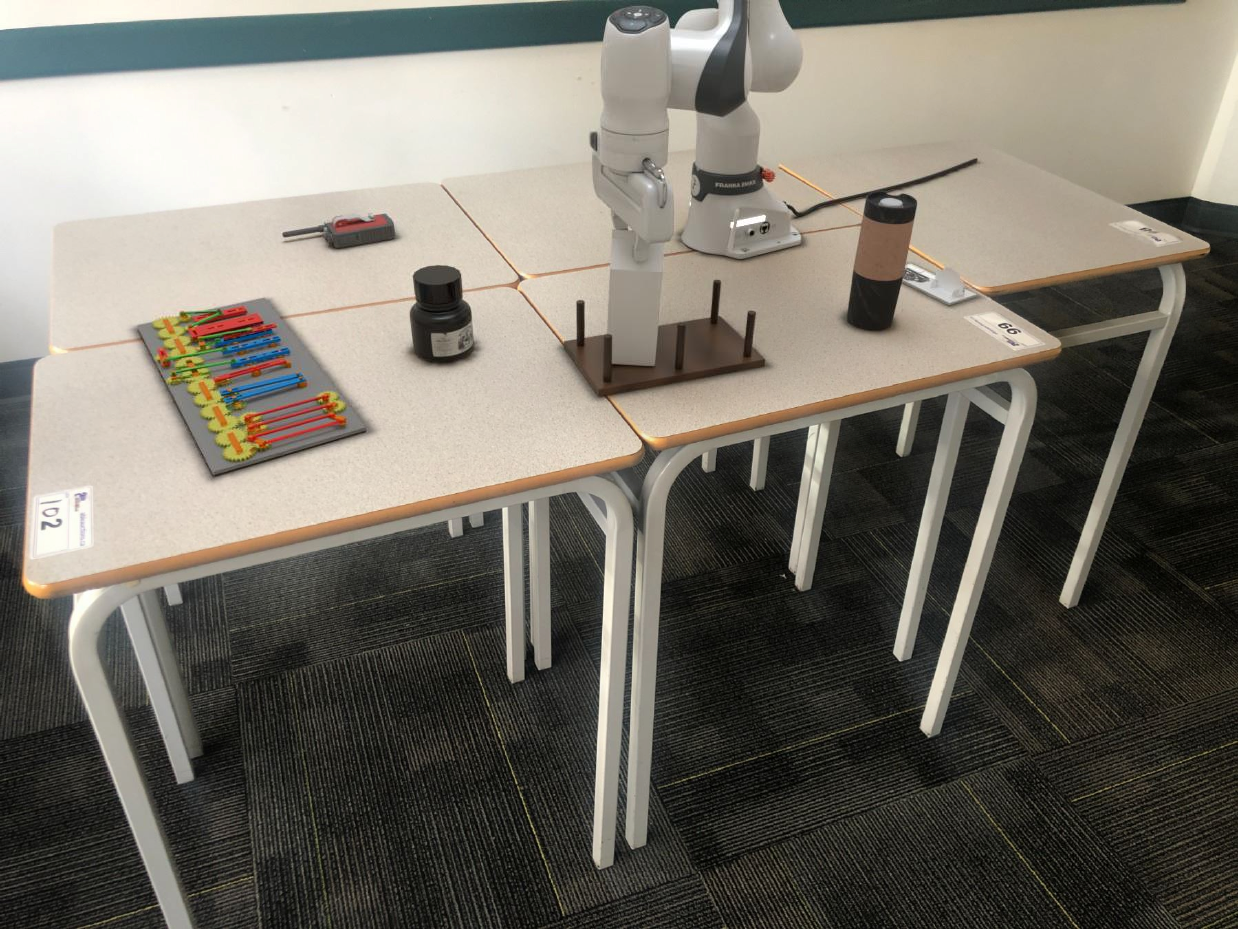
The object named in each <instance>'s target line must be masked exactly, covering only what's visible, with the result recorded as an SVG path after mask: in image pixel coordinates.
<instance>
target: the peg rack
mask: <svg viewBox="0 0 1238 929" xmlns="http://www.w3.org/2000/svg"><path fill="white" fill-rule="evenodd" d="M721 290H722V280H721V279H714V280H713V281H712V291H711V305H710V317H703V318H697V319H691V320H685V321H678V322H673V323H666V324H659V325H658V334H657V346H656V358H655V366H641V365H624V364H612V335H611V334H607V333H605V334H600V335H593V336H588V337H587V336H585V335H586V328H585V327H586V325H585V324H586V314H585V313H586V306H585V305H586V304H585V303H586V301H585V300H583V299H578V300H576V302H575V303H576V304H575V309H576V310H575V311H576V312H575V313H576V315H575V316H576V321H575V322H576V338H574V339H569V340H563V349H564V351H565V352H566V353H567V354H568V356H569V357H570V358H571V360H572V362H573V363H574V364H575V365H576V367H577V368H578V370H579V371H580V372H581V374H582V375H583V377H584V379H586V381H587V383H588V384H589V386H590V387H591V388H592V390H593V391H594V393H595V394H596V395H597V396H598V397H604V396H610V395H615V394H621V393H627V392H631V391H637V390H643V389H648V388H653V387H659V386H664V385H670V384H675V383H681V382H686V381H690V380H691V381H692V380H696V379H701V378H708V377H712V376H713V377H714V376H718V375H723V374H729V373H734V372H740V371H745V370H752V369H756V368H757V369H758V368H762V367H765V364H766V358H765V357H764V356H762V354H761V353H759V352H758V351H757V350H756V349H755V348H754V347H753V344H754V333H755V326H756V316H757V312H756V311H755V310H751V309H750V310H748V311H747V313H746V314H747V315H746V324H745V333H744V337H743V336H742V335H741V334H740V333H739V332H738V331H736V329H734V328H733V326H732V325H730V323H729V322H727V321H726V320H725V319H724V318H723V317H722V316H721V315H719V314H720V313H719V311H720V300H721Z"/></svg>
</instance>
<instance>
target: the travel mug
mask: <svg viewBox="0 0 1238 929" xmlns="http://www.w3.org/2000/svg"><path fill="white" fill-rule="evenodd" d="M865 197H866V198H865V201H864V207H863V214H862V218H861V224H860V230H859V235H858V241H857V246H856V252H855V258H854V263H853V268H852V275H851V284H850V290H849V291H850V292H849V298H848V304H847V305H848V306H847V312H846V313H847V314H846V320H847V322H848V323H849V324H850V325H851V326H852V327H854V328H856V329H860V330H863V331H869V332H880V331H884V330H885V331H886V330H887V329H889V328H890V327H892V324H893V320H894V317H895V314H896V308H897V305H898V300H899V296H900V292H901V287H902V284H903V282H902V280H903V275H904V271H905V265H906V264H907V259H908V256H909V255H908V254H909V249H910V244H911V238H912V234H913V228H914V224H915V218H916V213H917V209H918V200H917V199H916V198H915V197H914V196H912V195H911V194H908V193H900V194H897V195H896V194H889V193H888V192H887V191H876V192H872V193H870V194H868V195H867V196H865Z"/></svg>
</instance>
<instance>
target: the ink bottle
mask: <svg viewBox="0 0 1238 929" xmlns="http://www.w3.org/2000/svg"><path fill="white" fill-rule="evenodd" d="M462 278H463V277H462V273H461V271H460V269H458V268H457V267H455V266H450V265H447V264H445V265H444V264H443V265H442V264H436V265H435V264H434V265H428V266H424V267H421V268H419V269H417V270H416V271H414V272H413V274H412V283H413V291H414V299H415V303H414V304H413V305H412V306H411V308H410V309H409V323H410V332H411V339H412V340H411V341H412V348H413V351H414V353H415V355H417V357H419V358H421V359H423V360H426V361H430V362H436V363H449V362H453V361H457V360H460V359H462V358H464V357H466V356H468V355H469V354H470V353H472V352H473V350H474V346H475V340H474V339H475V338H474V326H473V314H472V307H471V305H470V304H469V303H468V302H467V301H466V300H465V299H463V297H464V294H463V292H464V291H463V281H462Z"/></svg>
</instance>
